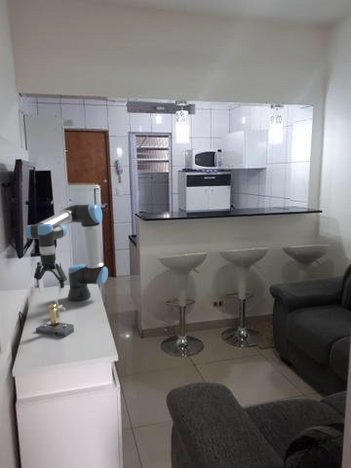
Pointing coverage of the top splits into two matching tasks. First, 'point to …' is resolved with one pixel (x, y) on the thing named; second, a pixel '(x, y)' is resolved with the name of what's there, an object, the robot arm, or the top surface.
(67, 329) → the square socket block
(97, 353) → the top surface
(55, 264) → the robot arm
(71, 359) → the top surface
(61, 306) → the white crossed rod jack
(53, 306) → the pin
